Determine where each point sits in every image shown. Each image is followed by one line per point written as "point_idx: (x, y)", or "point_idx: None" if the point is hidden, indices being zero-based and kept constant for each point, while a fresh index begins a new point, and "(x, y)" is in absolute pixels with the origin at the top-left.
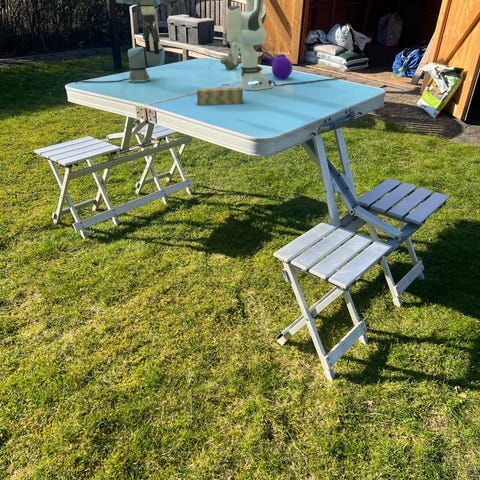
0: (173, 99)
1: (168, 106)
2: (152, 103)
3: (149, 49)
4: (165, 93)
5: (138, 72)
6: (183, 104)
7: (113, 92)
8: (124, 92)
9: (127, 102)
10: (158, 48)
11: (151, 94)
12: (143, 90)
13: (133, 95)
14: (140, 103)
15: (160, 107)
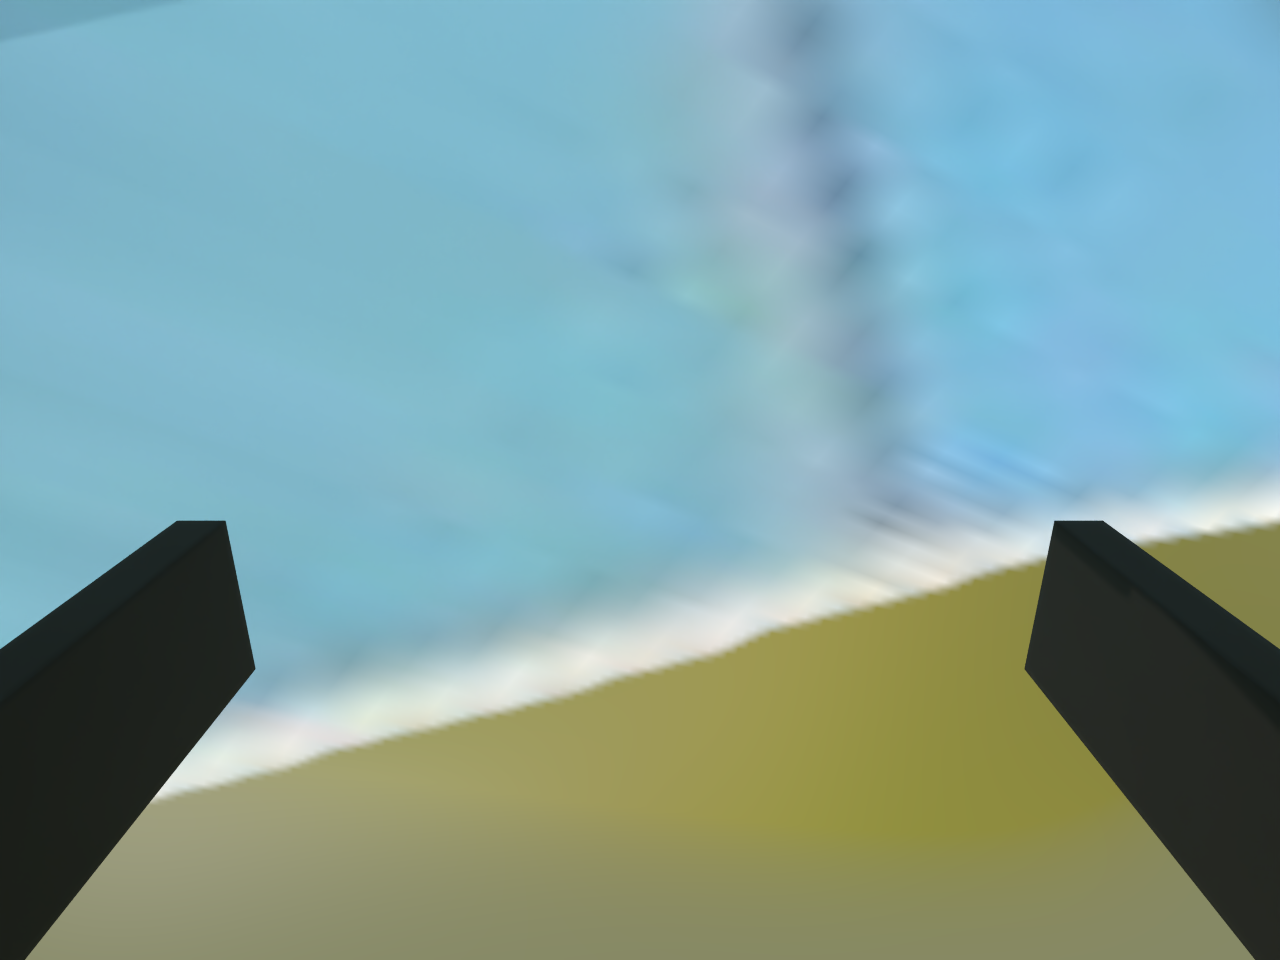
0: (838, 164)
1: (1114, 383)
2: (847, 475)
3: (190, 593)
4: (412, 91)
5: None
6: (1180, 178)
7: None
8: (80, 534)
9: (620, 668)
10: (1244, 638)
11: (369, 295)
12: (54, 287)
13: (308, 504)
14: (754, 579)
15: (1082, 475)
